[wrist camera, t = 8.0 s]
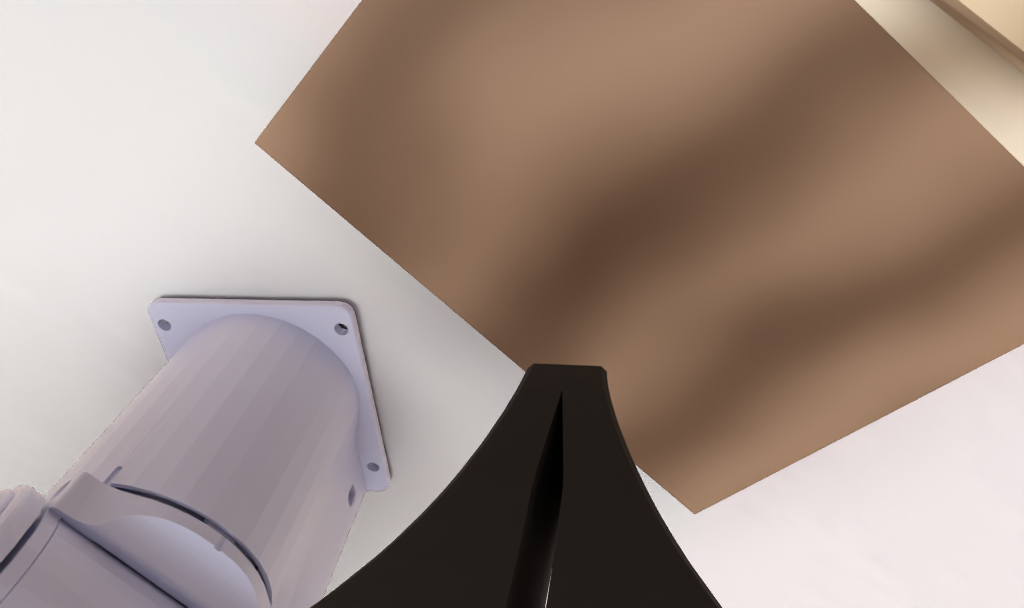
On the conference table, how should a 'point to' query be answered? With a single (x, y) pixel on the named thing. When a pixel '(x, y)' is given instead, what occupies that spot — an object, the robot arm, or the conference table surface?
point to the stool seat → (688, 203)
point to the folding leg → (992, 24)
